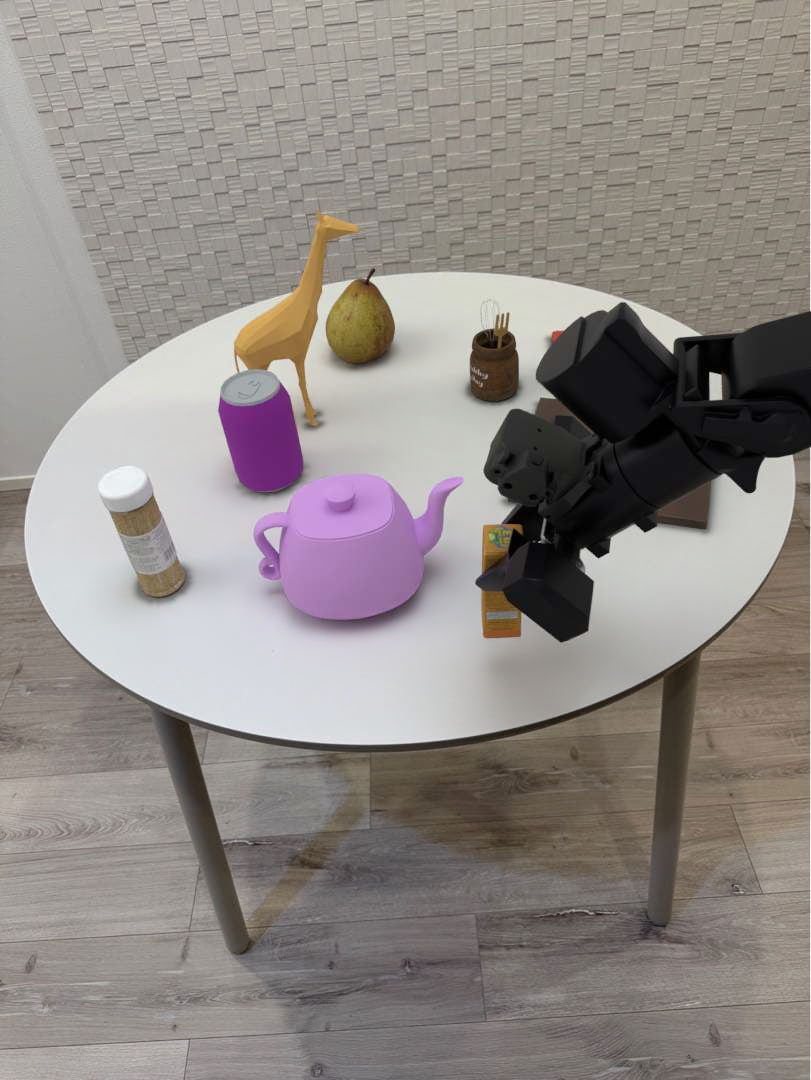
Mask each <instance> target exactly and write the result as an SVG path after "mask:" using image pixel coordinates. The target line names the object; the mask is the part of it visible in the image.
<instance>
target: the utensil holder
mask: <svg viewBox="0 0 811 1080" xmlns="http://www.w3.org/2000/svg"><path fill="white" fill-rule="evenodd" d="M485 302H486V304H485V307H484V315H485V316H484V317H485V319H486V321H489V318H488V315H487V309H488V302H489V303H490V304H491V307H493V306H495V305H496V307H497V308H500V306H499V303H498V301H496V300H495V299H491V298H490V299H489V298H487V299H486V300H484V303H485ZM484 303H481V306H480V311H479V313H480V319H483V317H482V316H483V315H482V307H483V305H484ZM494 304H495V305H494ZM497 310H498V311H497V314H495V313H496V311H495V310H494V308H491V312H492V313H493V316H495V318H492V323H493V324H492V325H493V328H488V327H490V325H489V324H490V323H487V324H485V325H484V322H483V321H480V323H481V328H482V329H483V330H481V331H479V332H477V333H476V334H475V335H474V336H473V338H472V340H471V341H472V342H471V353H470V356H469V383H470V389H471V391H472V393H473V395H475V396H476V397H477V398H479V399H481V400H484V401H488V402H498V401H499V402H500V401H504V400H506V399H509V398H510V397H512V396H514V395H515V394H516V392H517V391H518V389H519V380H520V359H519V353H518V351H517V340H516V337H515V334H513V332H511V331H510V330H509V323H510V311H508V312H506V316H505V313H503V312H502V313H500V309H497ZM500 314H501V315H500ZM505 317H506V318H505ZM504 323H505V324H504ZM485 327H486V329H485Z"/></svg>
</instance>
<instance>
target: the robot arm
mask: <svg viewBox="0 0 811 1080" xmlns="http://www.w3.org/2000/svg"><path fill="white" fill-rule="evenodd" d="M562 331H563V332H562V333H561V334H560V335H559V336H558V338H557V339H556V340H555V341H554V342H553V343H551V345H549V347H548V349H547V350H546V351H545V353H544V354H543V356H542V358H541V359H540V361H539V363H538V366H537V367H536V371H535V380H536V381H537V383H538V384H539V385H541V386H542V387H543V388H544V389H545V390H546V391H547V392H548V393H550V394H551V396H553V398H554V399H557V400H559V401H560V402H561V403H562V404H563V405H564V406H565V407H566V408H567V409H568V410H570V411H571V412H572V413H573V414H574V415H575V416H576V417H577V418H578V419H579V420H581V421H582V422H583V423H584V424H585V425H586V426H587V427H588V428H589V429H590V430H592V431H593V432H594V433H593V434H592V433H591V432H590V431H589V430H587V429H586V428H585V427H584V426H583V425H582V424H581V423H580V422H579V421H578V420H576V419H575V418H574V417H573V416H563V415H555V416H554V417H553V418H551V419H550V420H549V421H546V420H544V419H542V418H540V417H537V416H535V414H533V413H530V412H528V411H527V410H524V409H522V408H511V409H510V410H509V411H508V413H507V414H506V416H505V418H504V420H503V421H502V423H501V425H500V427H499V429H498V430H497V431H496V434H495V435H494V437H493V439H492V440H491V442H490V445H489V450H488V454H487V458H486V461H485V463H484V466H483V475H484V477H485V478H486V480H488V482H490V483H491V484H493V485H495V486H497V491H498V492H499V495H500V496H502V497H505V498H506V499H508V498H509V499H511V500H513V501H516V502H518V503H516V504H515V505H514V507H513V508H512V510H511V511H510V512H509V513H508V515H507V516H505V518H504V519H503V520H502V522H501V523H500V524H519V525H522V528H523V535H522V534H521V533H519V532H518V531H517V530H516V529H515V528H513V530H512V534H511V538H510V542H509V547H508V551H507V553H506V554H505V555H504V556H503V557H502V558H500V559H499V560H498V561H497V562H495V563H494V564H493V565H492V566H490V567H489V568H488V569H487V570H486V571H484V572H483V573H482V572H481V574H480V575H479V576H478V577H477V578H476V579H475V581H474V583H475V586H477V587H478V588H479V589H480V590H481V589H482V590H483V591H500V592H503V593H504V595H505V597H506V600H507V601H508V602H509V603H511V604H512V605H513V606H515V607H516V608H517V609H518V610H520V611H521V612H522V614H523V615H524V616H526V617H527V618H529V619H530V620H531V621H532V622H534V623H535V624H536V625H537V626H539V627H540V628H541V629H542V630H544V631H545V632H546V633H547V634H549V635H550V636H552V637H553V638H554V639H555V640H557V641H558V642H559V643H560V644H562V643H566V642H569V641H572V640H573V639H575V638H577V637H580V636H581V635H584V634H586V633H588V632H589V628H590V620H591V613H592V605H593V597H594V588H595V580H593V579H592V578H591V577H590V576H588V575H587V574H586V567H585V564H584V562H583V560H582V559H581V553H582V552H581V551H582V550H584V549H586V550H587V551H589V552H590V553H591V554H592V555H593V556H594V557H596V558H597V559H598V560H599V559H600V558H603V557H604V556H606V555H608V554H610V552H611V551H610V550H611V542H612V538H613V537H615V536H617V535H618V534H620V533H621V532H624V531H625V530H627V529H629V528H631V527H632V526H634V525H635V526H636V527H638V528H639V529H640V530H641V532H643V533H644V534H646V533H649V532H650V531H652V530H653V529H655V528H657V527H658V522H657V519H658V511H659V510H661V509H662V508H664V507H666V506H668V505H669V504H671V503H673V502H675V501H677V500H678V499H680V498H682V497H684V496H685V495H687V494H689V493H691V492H692V491H694V490H696V489H698V488H700V487H701V486H703V485H705V484H707V483H708V482H710V481H711V482H712V481H714V480H716V479H718V478H719V477H721V476H722V475H726V476H727V477H728V478H729V479H730V480H732V481H733V482H734V483H735V484H736V485H737V487H739V488H740V489H741V490H742V491H743V492H744V493H746V494H753V493H754V492H755V491H756V490H757V481H758V475H759V471H760V469H761V466H762V464H763V462H764V461H765V459H777V458H783V457H788V456H793V455H796V454H799V453H801V452H804V451H806V450H808V449H810V448H811V310H809V311H805V312H801V313H798V314H794V315H790V316H786V317H782V318H778V319H774V320H770V321H767V322H763V323H759V324H756V325H754V326H751V327H750V328H748V329H747V330H744V331H742V332H733V333H732V332H731V333H720V334H719V333H718V334H707V335H706V334H705V335H693V336H680V337H677V338H675V339H674V340H673V350H672V352H671V351H670V349H668V348H667V347H666V346H665V345H664V343H662V342H661V340H659V339H658V337H656V336H655V334H653V332H651V331H650V330H649V329H648V328H647V327H646V325H645V324H644V323H643V320H642V319H641V317H640V316H639V314H638V313H637V312H636V311H635V310H634V309H633V308H632V307H631V306H630V305H629V304H628V303H627V302H625V301H620V302H619V303H617V304H616V305H615V306H614V307H613V308H612V309H610V310H609V311H606V310H605V309H600V310H596V311H594V312H591V313H589V314H588V315H586V316H585V317H584V316H582V315H581V316H579V317H578V318H577V319H575V320H574V321H573V322H572V323H571V324H569V326H567V327H566V328H565V329H564V330H562ZM710 373H711V374H716V375H720V377H721V379H720V381H721V399H711V396H710V395H711V392H710V386H711V385H710V383H711V382H710Z"/></svg>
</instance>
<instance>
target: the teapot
mask: <svg viewBox="0 0 811 1080" xmlns="http://www.w3.org/2000/svg"><path fill="white" fill-rule="evenodd" d="M464 482H465V478H464V477H463V476H454V477H450V478H447V479H444V480H442V481H440V482H438V483H437V484H436V485H434V487H432V488H431V491H430V493H429V495H428V499H427V507H426V510H425V511H424V513H423V514H422V515H420V516H419V517H417V518H415V519H414V517H413V515H412V513H411V511H410V509H409V507H408V504H407V503H406V502H405V501H404V499H403V498H402V497H401V495H400V494H399V493H398V491H397V490H396V489H395V488H394V487H393V486H392V485H391V484H390V483H389V481H388V480H386V479H385V478H383V477H381V476H378V475H374V474H370V473H369V474H368V473H345V474H336V475H331V476H326V477H323V478H319V479H315V480H313V481H310V482H307V483H305V484H303V485H302V486H300V487H299V488H298V489H296V491H295V492H294V494H293V496H292V497H291V499H290V501H289V504H288V507H287V510H286V512H285V511H276V512H271V513H268V514H266V515H263V516H262V517H260V518H259V519H258V521H257V522H255V523H256V524H255V525H254V528H253V539H254V543H255V545H256V547H257V548H258V550H259V551H260V552H261V554H262V555H263V556H264V557H263V558H262V559H261V560H260V561H259V564H258V571H259V574H260V575H261V576H262V577H263V578H264V579H267V580H270V581H278V580H281V583H282V589H283V591H284V594H285V597H286V598H287V599H288V601H289V603H290V604H291V605H292V606H294V607H295V608H296V609H298V610H299V611H301V612H302V613H304V614H307V615H309V616H312V617H315V618H318V619H319V618H320V619H325V620H338V621H346V620H348V621H351V620H359V619H360V620H361V619H364V618H365V619H366V618H370V617H374V616H377V615H380V614H383V613H386V612H388V611H391V610H393V609H396V608H397V607H399V606H402V604H404V603H405V602H407V601H408V600H409V599H410V598H411V597H412V596H413V595H414V593H416V592H417V590H418V589H419V587H420V585H421V583H422V580H423V577H424V569H425V558H424V556H426V555H427V554H428V553H430V552H431V551H433V549H434V548H435V547H436V546H437V545H438V543H439V542H440V539H441V537H442V534H443V530H444V519H445V518H444V516H445V505H446V501H447V499H448V497H449V496H450V495H451V493H452V492H453V491H454V490H456V489H457V488H458V487H459V486H461V485H462V484H463V483H464ZM274 528H281V530H280V531H281V532H280V538H279V547H278V551H277V549H275V547H274V546H273V545H272V544H271V543H270V541H269V540H268V539H267V537H266V535H265V533H264V532H266V531H268V530H270V529H274Z"/></svg>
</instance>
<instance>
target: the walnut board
mask: <svg viewBox="0 0 811 1080" xmlns="http://www.w3.org/2000/svg"><path fill="white" fill-rule="evenodd" d="M534 415H535V416H537V417H540V418H542V419H544V420H546V421H549V420H550V419H551V418H553V417H554V416H555V415H563V416H573V417H574V418H575V419H576V420H578V421H579V422H580V423H581V424H582V425H583V426H584V427H585V428H586V429H587V430H589V431H590V432H591V433H592V434H593V433H594V432H593V431H592V430H590V429H589V428H588V427H587V426H586V425H585V424H584V423H583V422H582V421H581V420H579V419H578V418H577V417H576V416H575V415H574V414H573V413H572V412H571V411H570V410H568V409H567V408H566V407H565V406H564V405H563V404H562V403H561V402H560V401H559V400H557V399H556V398H550V397H540V398H539V401H538V404H537V406H536V409H535V413H534ZM711 486H712V481H710V482H708V483H707V484H705V485H703V486H701V487H700V488H698V489H696V490H694V491H692V492H691V493H689V494H687V495H685V496H684V497H682V498H680V499H678V500H677V501H675V502H673V503H671V504H669V505H668V506H666V507H664V508H662V509H661V510H659V511H658V519H657V523H660V524H667V525H675V526H682V527H689V528H695V529H704V530H706V529H707V526H708V523H709V522H708V521H709V509H710V497H711ZM507 502H508V503H509V502H510V503H516V504H517V503H518V502H516V501H513V500H511V499H509V498H507Z"/></svg>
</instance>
